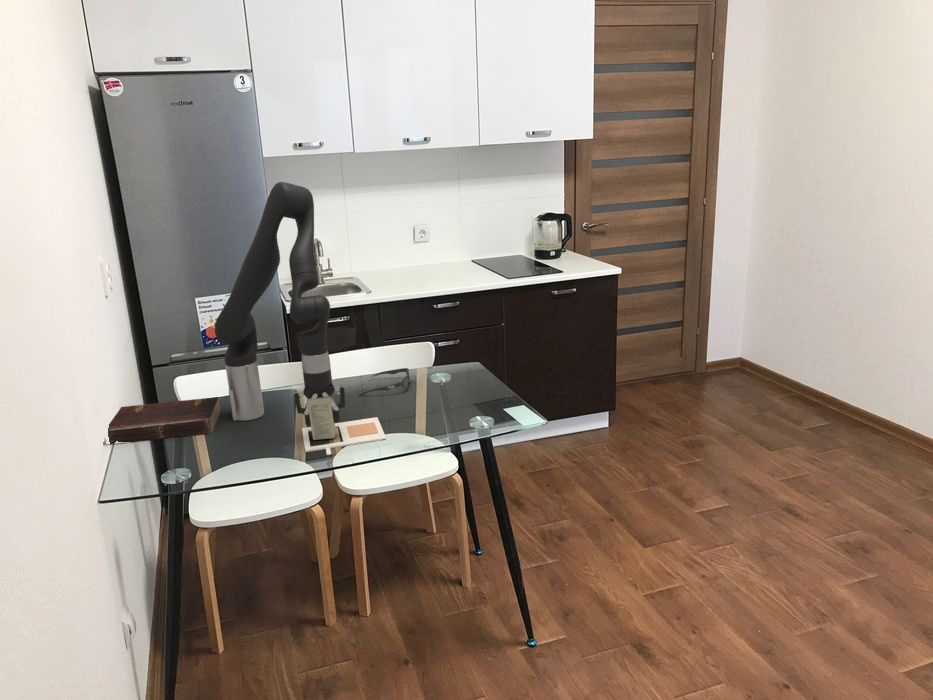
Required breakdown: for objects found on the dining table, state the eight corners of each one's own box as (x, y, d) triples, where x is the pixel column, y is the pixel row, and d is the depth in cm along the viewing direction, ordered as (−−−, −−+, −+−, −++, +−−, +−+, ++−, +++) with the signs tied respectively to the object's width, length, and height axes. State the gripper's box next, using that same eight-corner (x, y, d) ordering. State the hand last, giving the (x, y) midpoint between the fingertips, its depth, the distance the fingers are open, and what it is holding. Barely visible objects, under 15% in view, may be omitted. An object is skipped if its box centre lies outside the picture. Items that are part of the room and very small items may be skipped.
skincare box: (336, 432, 211) (332, 392, 208) (334, 438, 207) (330, 397, 204) (313, 434, 211) (308, 393, 207) (311, 440, 207) (306, 399, 203)
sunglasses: (408, 395, 239) (405, 381, 237) (357, 403, 240) (354, 389, 238) (413, 378, 254) (410, 364, 253) (365, 385, 255) (362, 372, 254)
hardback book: (106, 446, 212) (103, 430, 211) (124, 421, 230) (121, 406, 229) (211, 435, 216) (209, 419, 215) (221, 411, 234) (218, 396, 233)
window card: (306, 458, 197) (306, 455, 197) (302, 429, 215) (301, 427, 215) (388, 445, 202) (388, 442, 202) (377, 418, 221) (377, 416, 220)
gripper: (290, 375, 198) (297, 432, 203) (344, 368, 201) (350, 425, 206) (289, 367, 205) (296, 422, 210) (341, 360, 208) (347, 415, 213)
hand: (322, 423), depth 208 cm, fingers closed on skincare box, 6 cm apart
